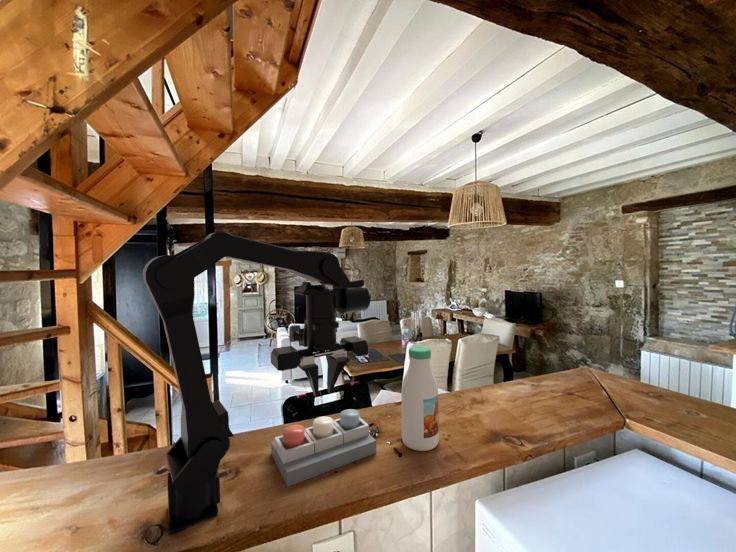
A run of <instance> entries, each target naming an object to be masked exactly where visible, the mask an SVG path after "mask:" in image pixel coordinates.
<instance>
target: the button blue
mask: <svg viewBox="0 0 736 552" xmlns="http://www.w3.org/2000/svg"><path fill="white" fill-rule="evenodd" d="M339 418H340V426H341V427H342V428H343V429H344V430H350V429H353V428H357V427H359V426H360V418H361V417H360V411H359V410H358V409H353V408H349V409H344V410H342V411H340V415H339Z"/></svg>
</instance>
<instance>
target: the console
mask: <svg viewBox="0 0 736 552" xmlns="http://www.w3.org/2000/svg"><path fill="white" fill-rule="evenodd" d="M304 430H305V443H304V444H303V445H300V446H297V447H294V448H291V449H287V448H285V447H284V446H283V434H282V435H279V436H275V437H274V439H273V440H271V441H270V450H271V451H270V452H271V453H270V454H271V456H272V458H273V460H274V462H275V464H276V466H277V468H278V470H279V472H280V474H281V477H282V478H283V481H284V483H285V485H286V487H290V486H293V485H295V484H298V483H301V482H303V481H306V480H308V479H311V478H314V477H317V476H320V475H322V474H324V473H327V472H330V471H332V470H335V469H338V468H340V467H343V466H345V465H348V464H350V463H353V462H355V461H359V460H361V459H364V458H367V457H369V456H372V455H374V454H377V439H375V437H373V436H372V435H371V434H370V425H369V424H368V423H367V422H366V421H365V420H364V419H362V418H361V417H360V426H359V427H357V428H353V429H350V430H344V429H343V428H342V427H341V426H340V417H339V418H336V419H333V435H332V436H328V437H325V438H322V439H317V438H315V437H314V436H313V425H312V426H309V427H307V428H305V427H304Z"/></svg>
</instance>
